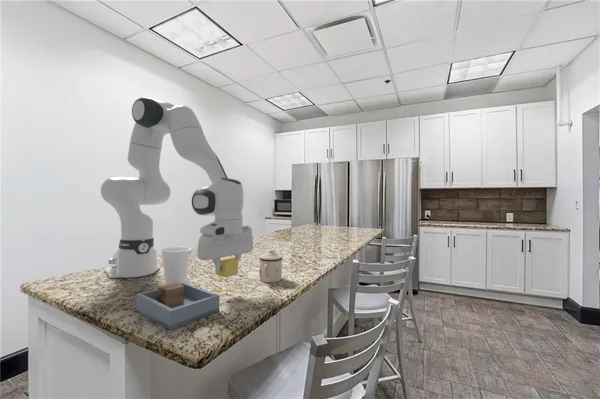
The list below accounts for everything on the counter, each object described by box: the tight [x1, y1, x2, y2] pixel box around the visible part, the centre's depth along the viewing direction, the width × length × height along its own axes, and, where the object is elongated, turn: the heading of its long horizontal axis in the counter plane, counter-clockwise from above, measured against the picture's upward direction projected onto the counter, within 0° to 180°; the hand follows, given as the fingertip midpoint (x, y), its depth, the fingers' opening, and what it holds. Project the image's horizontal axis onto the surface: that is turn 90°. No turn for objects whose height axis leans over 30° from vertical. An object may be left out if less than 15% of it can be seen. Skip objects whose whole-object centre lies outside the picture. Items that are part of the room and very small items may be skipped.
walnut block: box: [157, 283, 184, 307], centre depth 78 cm, size 5×5×5 cm
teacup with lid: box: [258, 249, 283, 284], centre depth 105 cm, size 12×9×12 cm
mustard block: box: [215, 256, 239, 278], centre depth 89 cm, size 5×5×5 cm
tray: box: [136, 282, 221, 331], centre depth 75 cm, size 18×14×4 cm
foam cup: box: [161, 246, 192, 285], centre depth 96 cm, size 10×9×13 cm
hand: (226, 269), depth 89 cm, fingers closed on mustard block, 5 cm apart
